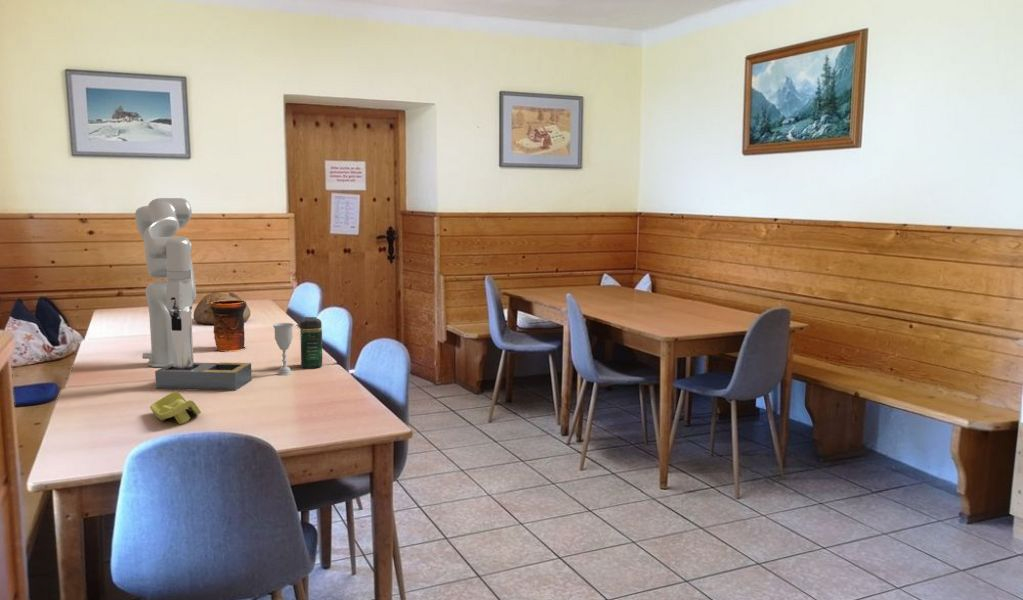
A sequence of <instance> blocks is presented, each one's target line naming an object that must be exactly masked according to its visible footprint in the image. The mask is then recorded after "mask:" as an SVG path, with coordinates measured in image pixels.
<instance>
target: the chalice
mask: <svg viewBox="0 0 1023 600" xmlns="http://www.w3.org/2000/svg"><path fill="white" fill-rule="evenodd" d="M272 326H273V328H274V340H275V342H276V344H277V346H278V348H279V350H280V351H282V354H281V356H282V360H281V361H282V363H283V365H282V366H281V367H280V368H279V370H278V373H277V375H278V374H279V375H278V376H290V375H292V374H293V372H292V370H291V368H290V366H287V362H288V360H287V352H286V351H287V350H288V349H289V347H290V345H291V344H292V341H293V337H294V336H293V326H294V323H289V322H279V323H273V324H272ZM289 374H290V375H289Z"/></svg>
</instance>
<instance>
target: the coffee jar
mask: <svg viewBox="0 0 1023 600" xmlns="http://www.w3.org/2000/svg"><path fill="white" fill-rule="evenodd" d="M299 322H300V325H299V327H300V359H301V360H300V364H301V365H300V366H301V367H302V368H303V369H306V368H307V369H316V368H321V367H322V366H323V330H322V329H323V327H322V321H321V319H319V318H317V317H316V316H306V317H305V318H302V319H301V320H300V321H299Z"/></svg>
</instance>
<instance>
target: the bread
mask: <svg viewBox="0 0 1023 600" xmlns="http://www.w3.org/2000/svg"><path fill="white" fill-rule="evenodd" d="M220 300H239V301H245V299H243V298H242V297H241V295H239V294H237V293H234V292H228V294H226V293H220V292H218V291H214V292H211V293H209V294H206V295H205V296H203V297H202V299H201V300H200V301H199V302H198V303H197V305H196V306H195V309H194V310H193V320H194V321H195V322H196V323H198V324H201V325H202V324H205V325H206V324H207V325H214V315H213V311H212V309H211V308H210V303H211V302H214V301H220ZM243 317H244V323H246V322H248V319H249V318H250V317H251V309H250V307H249V306H248V303H246V308H245V310H244V313H243Z"/></svg>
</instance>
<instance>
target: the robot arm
mask: <svg viewBox="0 0 1023 600" xmlns="http://www.w3.org/2000/svg"><path fill="white" fill-rule="evenodd" d="M134 214H135V215H134V219H135V224H136V228H137V231H138V233H139V235H140V237H141V238H142V241H143V245H144V253H145V261H146V268H147V273H148V275H149V276H150V278H153V279H167V280H163V281H162V280H159V281H153V282H150V283H149V284H148V285H147V286H146V287H145V297H146V302H147V306H148V308H147V309H148V313H149V315H148V316H149V329H150V330H149V331H150V345H151V348H150V350H151V352H143V353H142V357H141V358H142V359H145V360H146V359H148V361H147V366H148V367H152V368H163V367H166V366H168V365H170V364H172V363H173V349H172V330H173V331H181V330H182V322H181V319H180V315H181V310H183V309H184V308H186V307H189V308H190V309H191V310H193V304H194V303H196V301H197V288H196V281H195V272H194V271H195V270H194V264H193V260H192V257H191V254H192V249H193V247H192V242H191V241H190V240H189V238H187V237H186V236H174V235H175V234H177V232H178V231H179V229H181V228H184V227H186V225H187V224H188V223H189V221H190V220H191V218H192V215H193V213H192V207H191V204H190V201H188V200H187V199H186V198H181V197H180V198H179V197H173V198H172V197H170V198H169V197H159V198H154V199H152V200H151V201H150V202H149V203H148V204H147V205H144V206H141V207H138V208H137V209H136V210H135V213H134ZM174 308H178V309H174ZM176 312H178V313H176ZM192 314H193V313H192V311H191V315H192ZM171 324H172V329H171Z"/></svg>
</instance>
